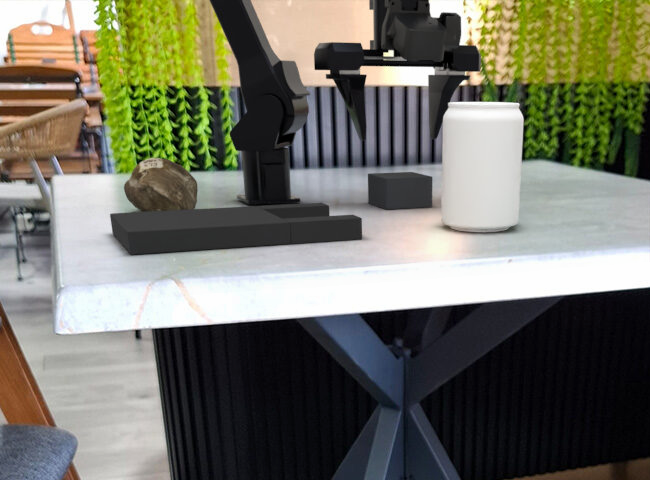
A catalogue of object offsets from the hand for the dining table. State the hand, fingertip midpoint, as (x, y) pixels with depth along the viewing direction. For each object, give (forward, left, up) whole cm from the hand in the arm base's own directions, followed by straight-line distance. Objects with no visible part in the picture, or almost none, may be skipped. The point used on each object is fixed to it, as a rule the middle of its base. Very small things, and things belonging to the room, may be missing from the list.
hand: (398, 139), depth 106 cm
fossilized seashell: (-3, -28, -8) cm, 29 cm away
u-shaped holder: (+15, -24, -8) cm, 29 cm away
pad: (0, 0, -8) cm, 8 cm away
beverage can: (+19, +1, -8) cm, 21 cm away
